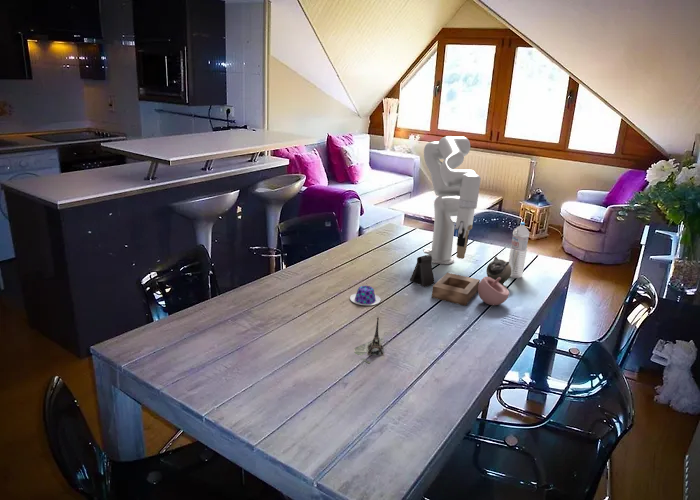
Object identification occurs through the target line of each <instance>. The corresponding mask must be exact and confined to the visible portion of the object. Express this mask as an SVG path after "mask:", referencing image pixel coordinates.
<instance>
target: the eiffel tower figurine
mask: <svg viewBox="0 0 700 500" xmlns="http://www.w3.org/2000/svg"><path fill="white" fill-rule="evenodd" d="M379 320H380V318H379V316H377V317H376V326H375V331H374V334H373V339H372V340H370V341H368V342H366V343H365V342H364V343H363V344H360V345H359V346H356V347H354V349H353V352H354V354H355V355H357V356H363V355H365V354H367V355H368V356H384V357H385V348H384V346H383V345H382V343H381V342H382V341H383V338H382V337H380V335H379ZM361 361H363V362H365V363H367V364H371V362H370V361H369V360H367V359H366V357H365V358H361Z"/></svg>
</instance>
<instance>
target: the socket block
mask: <svg viewBox="0 0 700 500" xmlns="http://www.w3.org/2000/svg"><path fill="white" fill-rule="evenodd" d="M480 281H481V279H478V278H474V277H469V276H464V275H461V274H460V275H459V274H456V273H451V272H446V273H445V274H444V275H443V276H442V277H440V278H439V280H437V282H435V284H433V285H432V289H431V298H432V299H436V300H440V301H444V302H448V303H452V304H456V305H459V306H464V307H467V305H468V304H469V302H471V300H472V299H474V297H475V295H476V294H477V293H478V285H479V283H480Z"/></svg>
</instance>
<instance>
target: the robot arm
mask: <svg viewBox="0 0 700 500" xmlns="http://www.w3.org/2000/svg"><path fill="white" fill-rule="evenodd" d="M470 151H471V142H470V140H469V139H468V137H465V136H452V135H446V136H444V137H441V138H440V139H439V140H438V141H436V140H435V141H430V142H428V143H426V144H425V145H424V149H423V158H424V162H425V165H426V167H427V169H428V171H429V173H430V177H431V178H430V179H431V184H432V187H433V192H434V194H435V195H436V196H437V197H436V198H435V200H434V201H433V203H434V204H433V208H434V221H433V222H434V223H433V233H432V243H431V248H430V249H429V248H426V247H424V248H423V250H422V251H423V253H424V254H426V255H428V256H429V255H431V257H432V261H431V263H432V264H433V263H434V264H438V265H449V264H453V263H454V262H455V258H454V257H453V256H452V252H453V245H454V244H453V243H454V233H455V230H456V231H457V230H458V232H457V242H456V247H457V246H462V247H464V245H465V234H466V231H467V230H468V227H469V226H471V225H472V226H473V222H474V216H475V215H474V214H475V209H477V208H478V198H479V194H480V193H479V192H480V186H481V178H482V177H481V176H480V175H479V174H478V173H477V172H476V171H475V170H473V169H464V168H463V169H460V168H459V167H460V166H461V165H463V162H464V161H465V160H464V159H465V156H468V154H469V153H470ZM441 160H443V161H441ZM456 168H457V169H456ZM458 168H459V169H458ZM451 217H456V220H455V221H456V222H454V221H453V220H452V218H451ZM459 226H460V227H459ZM463 229H465V230H463ZM462 232H464V234H463V233H462ZM469 235H470V230H469V231H468V236H467V244H468V241H469Z"/></svg>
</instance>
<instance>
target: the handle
mask: <svg viewBox="0 0 700 500" xmlns="http://www.w3.org/2000/svg"><path fill="white" fill-rule="evenodd" d="M459 227H460V226H459ZM472 229H473V224H472V225H471V226H469V227H468V230H467V231H466V234H465V245H464V247H462V246H457V245H456V258H457V259H458V260H459V259H461V260H462V259H464V258H465V257H466V256H465V254H466V253H467V252H466V251H467V248H468V247H467V245H468V243H467V236H468V235H469V234H468V231H469V232H470V231H471V230H472ZM463 230H465V229H463ZM462 233H463V234H464V232H462Z"/></svg>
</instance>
